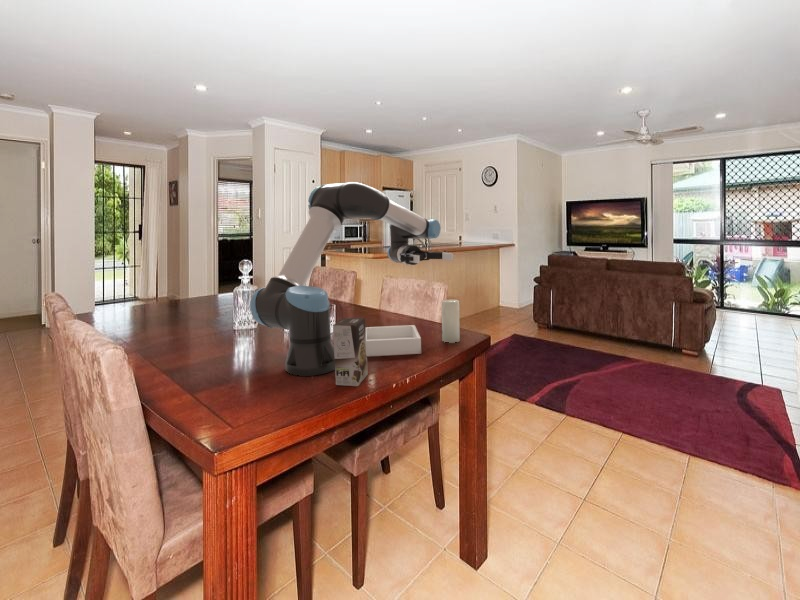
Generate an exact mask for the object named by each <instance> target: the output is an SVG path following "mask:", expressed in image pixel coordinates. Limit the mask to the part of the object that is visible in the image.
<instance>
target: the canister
mask: <svg viewBox="0 0 800 600" xmlns="http://www.w3.org/2000/svg"><path fill="white" fill-rule="evenodd" d="M460 340H461V339H460V300H458V299H443V300H441V341H442V342H443V341H444V342H443V343H445V342H449V343H448V344H456V343H455V342H457V343H459V342H461V341H460Z"/></svg>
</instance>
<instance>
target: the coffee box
mask: <svg viewBox="0 0 800 600" xmlns="http://www.w3.org/2000/svg"><path fill="white" fill-rule="evenodd" d="M332 331H333V332H332V336H333V338H332V339H333V347H334V358H335V370H334V374H335V375H334V376H335V377H334V378H335V386H346V387H347V386H349V387H358V386H360V385H361V383H362V382H363V381H364V380H365V378H366V377H367V376H368V373H369V372H368V356H367V349H366V317H344V318H342V319H339V321H337V322H336V323H334V324H333V325H332Z"/></svg>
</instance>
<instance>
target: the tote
mask: <svg viewBox="0 0 800 600" xmlns="http://www.w3.org/2000/svg"><path fill="white" fill-rule="evenodd" d="M365 327H366V326H365ZM366 349H367V357H381V356H400V355H401V356H402V355H416V354H417V355H419V354H422V337H421V335H420V333H419V332H418V329H417V327H416V325H415V324H411V325H409V324H408V325H406V324H405V325H388V326H387V325H386V326H369V327H368V326H367V327H366Z"/></svg>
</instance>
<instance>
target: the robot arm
mask: <svg viewBox="0 0 800 600" xmlns="http://www.w3.org/2000/svg"><path fill="white" fill-rule="evenodd" d="M307 202H308V203H309V204H307V205H308V215H309V220H308V221H307V222H306V224H305V226H304V228H303V229H302V232H301V234H300V235H299V237H298V239H297V241H296V243H295V244H294V247H292V250H291V252H290V253H289V256H288V257H287V259H286V261H285V262H284V264H283V266H282V268H281V270H280V272H279V274H278V275H275V276H272V277H270V279H269V281H268V283H267V285H266V286H265V287H261V288H258V289H257V290H256V291H254V292H253V294H252V296H251V298H250V304H249V309H250V312H251V316H252V318H253V320H255V322H256V323H258V324H260V325H262V326H265V327H267V328H269V329H270V328H275V329H282V330H287V331H288V333H289V334H288V335H289V346H288V350H287V355H286V359H285V363H284V365H285V372H286V371H287V372H288V374H289V373H290V374H289V375H292V374H293V375H292V376H297V375H299V377H311V376H318V375H324V374H327V373H330V372H333V371H335V358H334V343H333V342H332V337H331V333H332V332H331V315H330V312H331V311H330V301H329V295H328V293H327V291H326V290H325V289H323V288H321V287H317V286H311V285H309V286H307V285H306V284H307V282H308V280H309V278H310V277H311V274H312V273H313V271H314V268H315V267H316V265H317V263H318V260H319V259H320V257H321V255H322V253H323V252H324V249H325V248H326V246H327V244H328V242H329V240H330V238H331V235H332V234H333V232H334V231H338V230H339V229H340V228H341V227H342V224H343V222H345V221H344V220H346V219H356V218H357V219H361V218H363V219H370V220H373V221H379V220H381V221H382V222H385V223H387V224H389V233H390V234H389V235H390V237H389V238H390V246H389V247H388V249H387V253H386V254H387V256H388V259H389V260H390V261H392V262H394V263H396V264H397V263H398V264H399V263H400V264H405V265H406V266H408V265H411V266H416V265H418V264H420V262H423V261H429V260H442V261H443V260H444V261H449V262H450V261H451V262H453V261H454V252H453V253H452V252H449V251H446V250H443V251H431V250H430V251H429V250H428V251H427V250H421V248H420V247H418V246H416V245H411V244H410V245H409V239H413V240H415V239H418V240H419V239H420V240H421V239H423V240H426V239H428V240H430V239H431V240H432V239H437V238H438V237H439V236H440V233H441V228H442V227H441V224H440V221H439V220H437V219H435V218H434V219H433V218H430V219H428V218H425V217H424V216H422V215H419V214H418V213H416V212H414V211H412V210H410V209H408V208H406V207H404V206H402V205H400V204H398V203H396V201H393V200H391V199H390V197H388V195H387V194H386V193H385V192H382V191H381V190H378V189H377V188H375V187H372V186H369V185H367V184H366V183H365V184H364V183H361V182H357V181H349V182H340V183H325V184H322V185H318V186H317V187H315V188H314V189H313V190H312V191H311V192H310V194H309V197H308V201H307Z"/></svg>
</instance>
